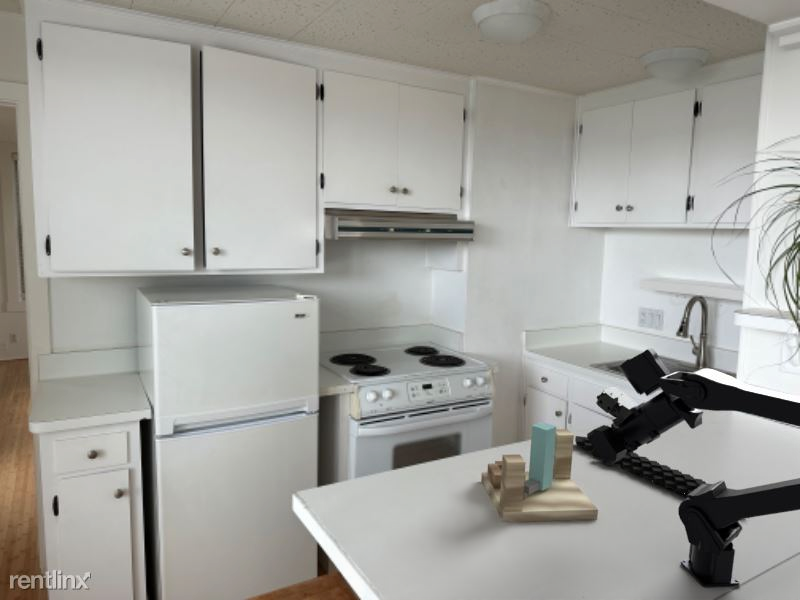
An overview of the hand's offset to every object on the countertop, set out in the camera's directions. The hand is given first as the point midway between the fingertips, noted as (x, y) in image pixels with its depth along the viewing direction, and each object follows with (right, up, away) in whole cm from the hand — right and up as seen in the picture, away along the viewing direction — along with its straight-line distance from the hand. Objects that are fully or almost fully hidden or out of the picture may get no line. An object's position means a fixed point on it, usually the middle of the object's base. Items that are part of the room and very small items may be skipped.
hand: (593, 455), depth 107 cm
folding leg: (-9, -9, +8) cm, 15 cm away
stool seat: (-9, -12, +9) cm, 17 cm away
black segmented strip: (+21, -11, +22) cm, 32 cm away
